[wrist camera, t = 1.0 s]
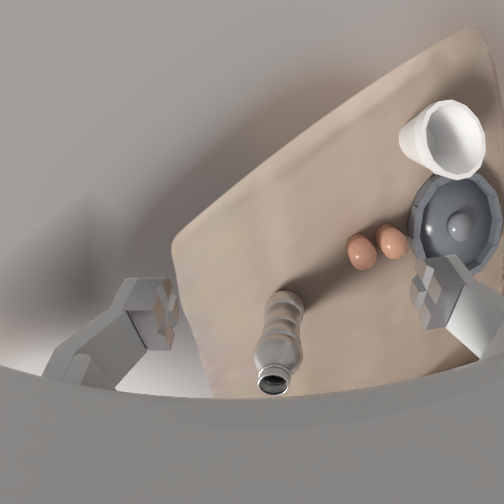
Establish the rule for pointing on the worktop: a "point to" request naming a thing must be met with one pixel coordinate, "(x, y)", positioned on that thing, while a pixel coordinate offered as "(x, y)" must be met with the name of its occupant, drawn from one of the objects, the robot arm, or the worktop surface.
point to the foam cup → (445, 139)
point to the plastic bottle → (279, 343)
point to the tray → (442, 207)
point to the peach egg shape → (361, 252)
